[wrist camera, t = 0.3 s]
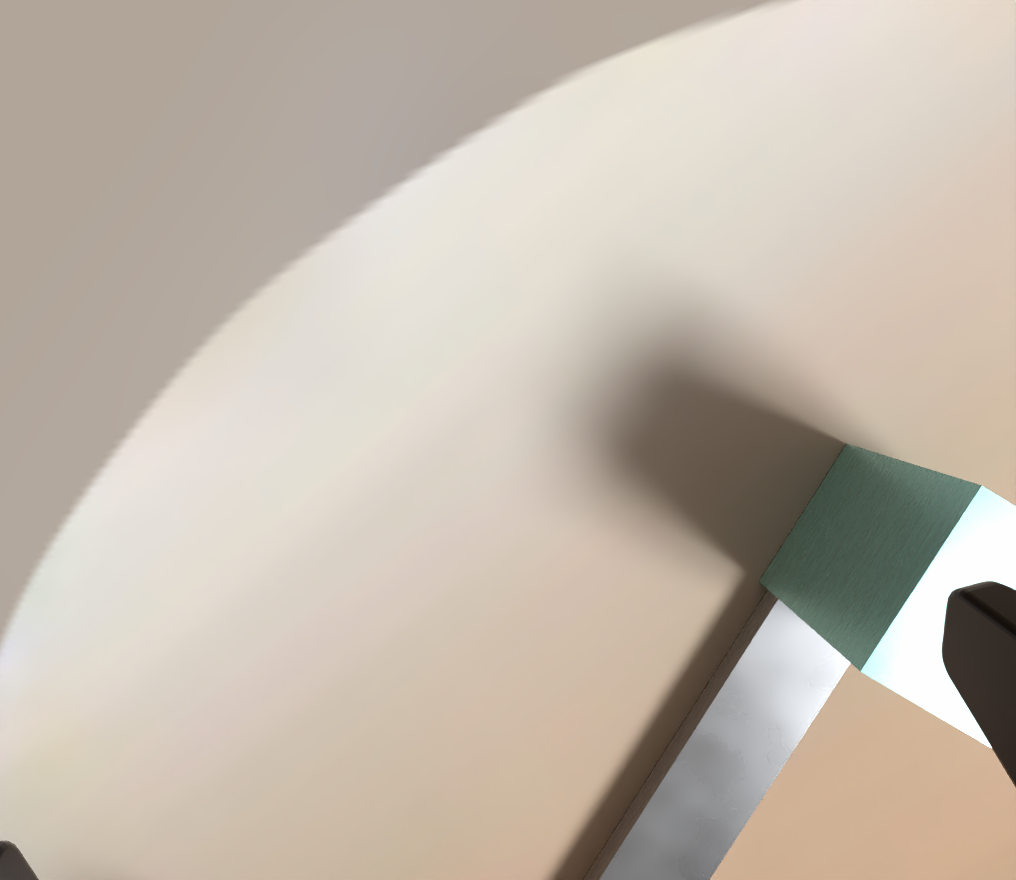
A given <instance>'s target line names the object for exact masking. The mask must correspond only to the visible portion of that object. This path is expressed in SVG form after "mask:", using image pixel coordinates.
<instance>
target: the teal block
mask: <svg viewBox="0 0 1016 880" xmlns="http://www.w3.org/2000/svg"><path fill="white" fill-rule="evenodd" d="M983 581H996V582H999V583H1002V584H1004V585H1007V586H1009V587H1012V588H1014V589H1016V506H1014V505H1012V504H1011V503H1009V502H1008V501H1006V500H1004V499H1003V498H1001V497H999V496H998V495H996V494H995V493H993V492H991V491H990V490H988V489H986V488H985V487H983V486H981V485H978V484H975V483H972V482H968V481H965V480H962V479H959V478H956V477H952V476H949V475H946V474H943V473H939V472H936V471H933V470H930V469H927V468H923V467H920V466H917V465H914V464H910V463H907V462H904V461H901V460H898V459H894V458H891V457H888V456H885V455H881V454H878V453H875V452H872V451H869V450H865V449H862V448H859V447H856V446H852V445H849V444H846V445H845V447H844V449H843V450H842V452H841V453H840V455H839V456H838V458H837V460H836V461H835V463H834V464H833V466H832V467H831V469H830V471H829V472H828V474H827V475H826V477H825V478H824V480H823V482H822V483H821V485H820V486H819V488H818V490H817V491H816V493H815V494H814V496H813V497H812V499H811V501H810V502H809V504H808V505H807V507H806V508H805V510H804V512H803V513H802V515H801V516H800V518H799V519H798V521H797V523H796V524H795V526H794V527H793V529H792V530H791V532H790V534H789V535H788V537H787V538H786V540H785V541H784V543H783V545H782V546H781V548H780V549H779V551H778V552H777V554H776V556H775V557H774V559H773V560H772V562H771V563H770V565H769V567H768V568H767V570H766V571H765V573H764V574H763V576H762V578H761V579H760V581H759V582H760V583H761V584H762V585H763V586H764V587H766V588H767V589H768V590H767V592H766V593H765V595H764V596H763V598H762V599H761V601H760V603H759V604H758V606H757V607H756V609H755V610H754V612H753V614H752V615H751V617H750V618H749V620H748V621H747V623H746V624H745V626H744V628H743V629H742V631H741V632H740V634H739V635H738V637H737V639H736V640H735V642H734V643H733V645H732V646H731V648H730V650H729V651H728V653H727V654H726V656H725V657H724V659H723V661H722V662H721V664H720V665H719V667H718V668H717V670H716V672H715V673H714V675H713V676H712V678H711V679H710V681H709V683H708V684H707V686H706V687H705V689H704V690H703V692H702V694H701V695H700V697H699V698H698V700H697V701H696V703H695V705H694V706H693V708H692V709H691V711H690V712H689V714H688V716H687V717H686V719H685V720H684V722H683V723H682V725H681V727H680V728H679V730H678V731H677V733H676V734H675V736H674V738H673V739H672V741H671V742H670V744H669V745H668V747H667V749H666V750H665V752H664V753H663V755H662V756H661V758H660V760H659V761H658V763H657V764H656V766H655V767H654V769H653V771H652V772H651V774H650V775H649V777H648V778H647V780H646V782H645V783H644V785H643V786H642V788H641V789H640V791H639V792H638V794H637V796H636V797H635V799H634V800H633V802H632V803H631V805H630V807H629V808H628V810H627V811H626V813H625V814H624V816H623V818H622V819H621V821H620V822H619V824H618V825H617V827H616V829H615V830H614V832H613V833H612V835H611V836H610V838H609V840H608V841H607V843H606V844H605V846H604V847H603V849H602V851H601V852H600V854H599V855H598V857H597V858H596V860H595V862H594V863H593V865H592V866H591V868H590V869H589V871H588V873H587V874H586V876H585V877H584V879H583V880H710V878H711V877H712V875H713V873H714V872H715V870H716V869H717V867H718V866H719V864H720V863H721V861H722V860H723V858H724V857H725V855H726V854H727V852H728V850H729V849H730V847H731V846H732V844H733V843H734V841H735V840H736V838H737V837H738V835H739V834H740V832H741V830H742V829H743V827H744V826H745V824H746V823H747V821H748V820H749V818H750V817H751V815H752V814H753V812H754V811H755V809H756V807H757V806H758V804H759V803H760V801H761V800H762V798H763V797H764V795H765V794H766V792H767V791H768V789H769V787H770V786H771V784H772V783H773V781H774V780H775V778H776V777H777V775H778V774H779V772H780V771H781V769H782V768H783V766H784V764H785V763H786V761H787V760H788V758H789V757H790V755H791V754H792V752H793V751H794V749H795V748H796V746H797V744H798V743H799V741H800V740H801V738H802V737H803V735H804V734H805V732H806V731H807V729H808V728H809V726H810V724H811V723H812V721H813V720H814V718H815V717H816V715H817V714H818V712H819V711H820V709H821V708H822V706H823V705H824V703H825V701H826V700H827V698H828V697H829V695H830V694H831V692H832V691H833V689H834V688H835V686H836V685H837V683H838V681H839V680H840V678H841V677H842V675H843V674H844V672H845V671H846V669H847V668H848V666H849V665H850V663H852V664H853V665H854V666H855V667H856V668H857V669H858V670H859V671H861V672H862V673H864V674H866V675H867V676H869V677H871V678H873V679H874V680H876V681H878V682H879V683H881V684H883V685H885V686H886V687H888V688H890V689H891V690H893V691H895V692H897V693H898V694H900V695H902V696H903V697H905V698H907V699H908V700H910V701H912V702H914V703H915V704H917V705H919V706H920V707H922V708H924V709H926V710H927V711H929V712H931V713H932V714H934V715H936V716H938V717H939V718H941V719H943V720H944V721H946V722H948V723H950V724H951V725H953V726H955V727H956V728H958V729H960V730H962V731H963V732H965V733H967V734H968V735H970V736H972V737H973V738H975V739H977V740H979V741H980V742H982V743H984V744H985V745H987V746H989V747H991V746H990V744H989V742H988V741H987V739H986V737H985V736H984V734H983V732H982V731H981V729H980V727H979V726H978V724H977V722H976V721H975V719H974V718H973V716H972V714H971V713H970V711H969V709H968V708H967V706H966V704H965V703H964V701H963V699H962V698H961V696H960V694H959V693H958V691H957V689H956V688H955V686H954V684H953V683H952V681H951V679H950V678H949V676H948V674H947V672H946V670H945V667H944V664H943V660H942V654H941V647H942V639H943V630H944V621H945V613H946V604H947V599H948V596H949V595H950V593H951V592H952V591H953V590H955V589H957V588H960V587H964V586H968V585H972V584H976V583H979V582H983ZM991 748H992V747H991Z"/></svg>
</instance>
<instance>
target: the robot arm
mask: <svg viewBox="0 0 1016 880" xmlns="http://www.w3.org/2000/svg"><path fill="white" fill-rule="evenodd" d="M941 654H942V660H943V664H944V667H945V670H946V672H947V674H948V676H949V678H950V679H951V681H952V683H953V684H954V686H955V688H956V689H957V691H958V693H959V694H960V696H961V698H962V699H963V701H964V703H965V704H966V706H967V708H968V709H969V711H970V713H971V714H972V716H973V718H974V719H975V721H976V722H977V724H978V726H979V727H980V729H981V731H982V732H983V734H984V736H985V737H986V739H987V741H988V742H989V744H990V746H991V747H992V749H993V751H994V752H995V754H996V756H997V757H998V759H999V761H1000V762H1001V764H1002V766H1003V767H1004V769H1005V770H1006V772H1007V774H1008V775H1009V777H1010V779H1011V780H1012V782H1013V784H1014V785H1015V787H1016V589H1014V588H1012V587H1009V586H1007V585H1004V584H1002V583H999V582H996V581H983V582H979V583H976V584H972V585H968V586H964V587H960V588H957V589H955V590H953V591H952V592H951V593H950V595H949V596H948V599H947V604H946V613H945V621H944V630H943V639H942V647H941ZM0 880H38V878H37V876H36V875H35V873H34V872H33V870H32V869H31V867H30V866H29V864H28V863H27V861H26V860H25V858H24V857H23V855H22V854H21V852H20V851H19V849H18V848H17V847H16V846H15V844H13V843H11V842H9V841H0Z"/></svg>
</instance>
